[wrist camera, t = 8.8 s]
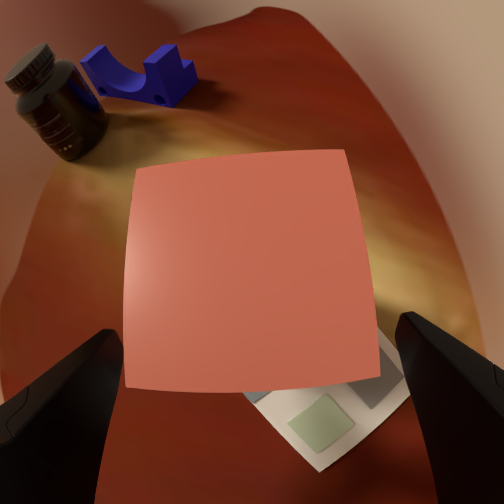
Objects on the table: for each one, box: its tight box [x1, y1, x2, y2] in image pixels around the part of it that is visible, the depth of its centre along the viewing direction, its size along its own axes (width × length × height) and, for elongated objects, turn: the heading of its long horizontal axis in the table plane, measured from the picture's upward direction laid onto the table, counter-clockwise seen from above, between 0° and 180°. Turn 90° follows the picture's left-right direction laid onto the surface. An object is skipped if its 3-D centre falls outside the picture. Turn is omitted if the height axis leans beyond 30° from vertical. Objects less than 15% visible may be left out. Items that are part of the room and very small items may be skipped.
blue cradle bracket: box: [80, 44, 198, 108], centre depth 23 cm, size 12×4×6 cm, turn 63°
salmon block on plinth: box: [123, 150, 380, 393], centre depth 11 cm, size 6×6×12 cm
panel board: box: [242, 326, 410, 472], centre depth 16 cm, size 15×9×1 cm, turn 39°
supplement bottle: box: [4, 43, 108, 160], centre depth 18 cm, size 7×7×12 cm
